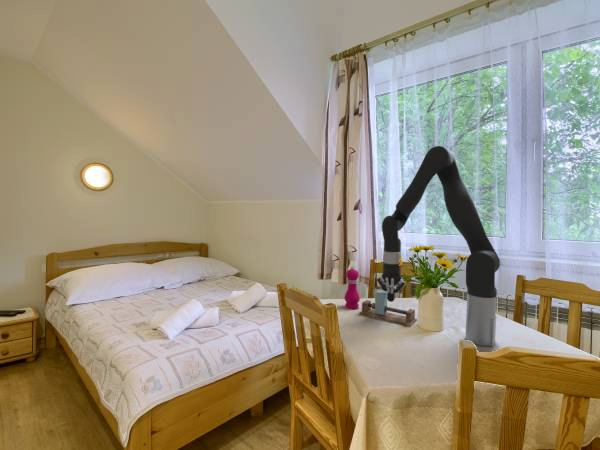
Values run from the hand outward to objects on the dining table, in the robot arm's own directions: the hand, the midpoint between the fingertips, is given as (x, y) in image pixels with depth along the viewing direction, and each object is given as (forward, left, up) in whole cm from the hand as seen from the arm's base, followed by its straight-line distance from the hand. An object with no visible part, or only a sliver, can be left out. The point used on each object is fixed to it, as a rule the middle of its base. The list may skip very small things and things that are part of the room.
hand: (390, 301), depth 140 cm
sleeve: (+4, 0, -6) cm, 8 cm away
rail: (+1, 0, -8) cm, 8 cm away
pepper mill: (+20, -3, -8) cm, 22 cm away
